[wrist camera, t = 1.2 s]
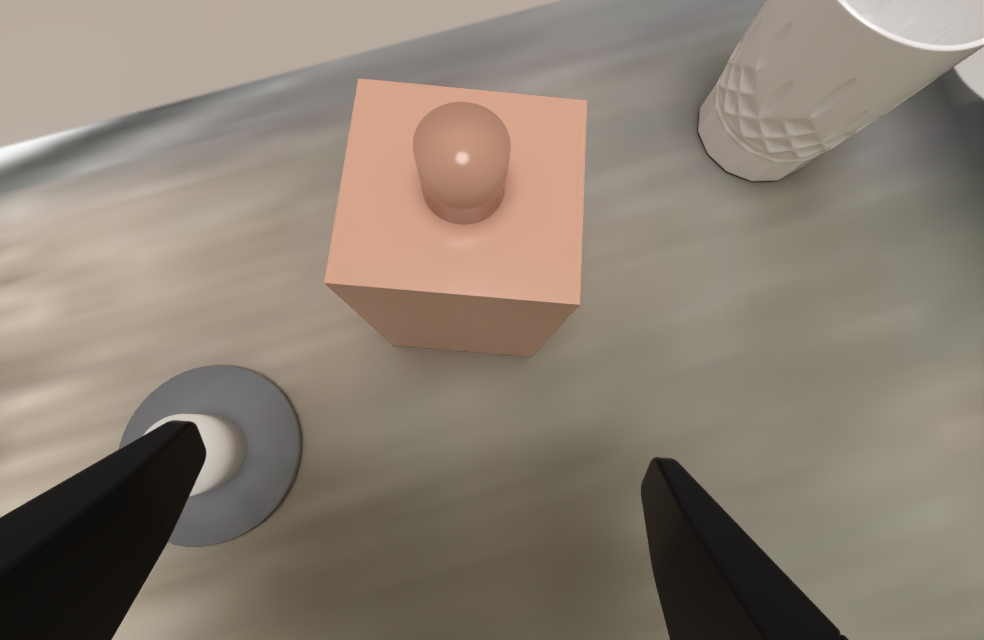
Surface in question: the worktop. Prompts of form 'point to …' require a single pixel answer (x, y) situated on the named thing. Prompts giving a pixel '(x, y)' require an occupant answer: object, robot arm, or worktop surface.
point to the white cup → (827, 76)
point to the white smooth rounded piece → (215, 449)
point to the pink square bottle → (460, 216)
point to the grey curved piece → (267, 448)
